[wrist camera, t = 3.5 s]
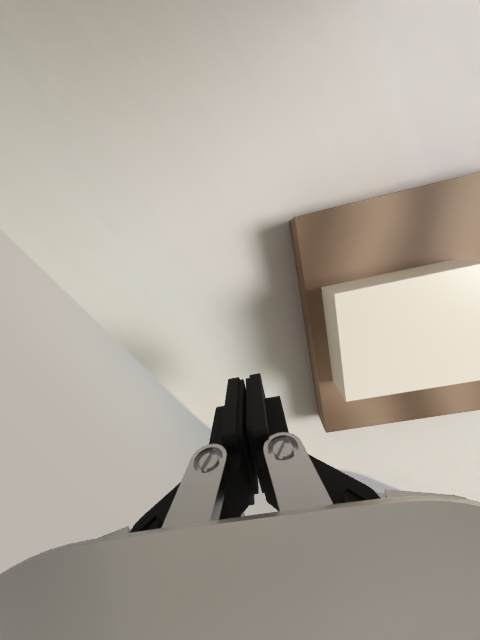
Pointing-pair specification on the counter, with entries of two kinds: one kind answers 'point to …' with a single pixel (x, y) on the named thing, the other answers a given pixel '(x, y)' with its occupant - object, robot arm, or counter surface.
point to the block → (405, 329)
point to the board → (376, 259)
